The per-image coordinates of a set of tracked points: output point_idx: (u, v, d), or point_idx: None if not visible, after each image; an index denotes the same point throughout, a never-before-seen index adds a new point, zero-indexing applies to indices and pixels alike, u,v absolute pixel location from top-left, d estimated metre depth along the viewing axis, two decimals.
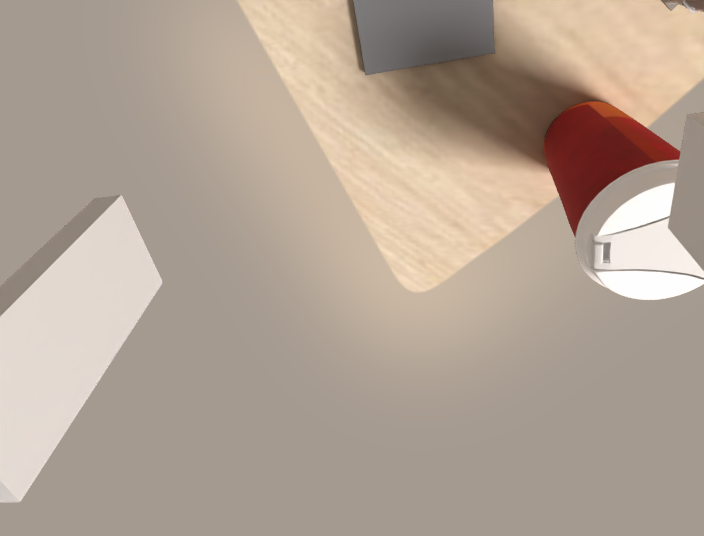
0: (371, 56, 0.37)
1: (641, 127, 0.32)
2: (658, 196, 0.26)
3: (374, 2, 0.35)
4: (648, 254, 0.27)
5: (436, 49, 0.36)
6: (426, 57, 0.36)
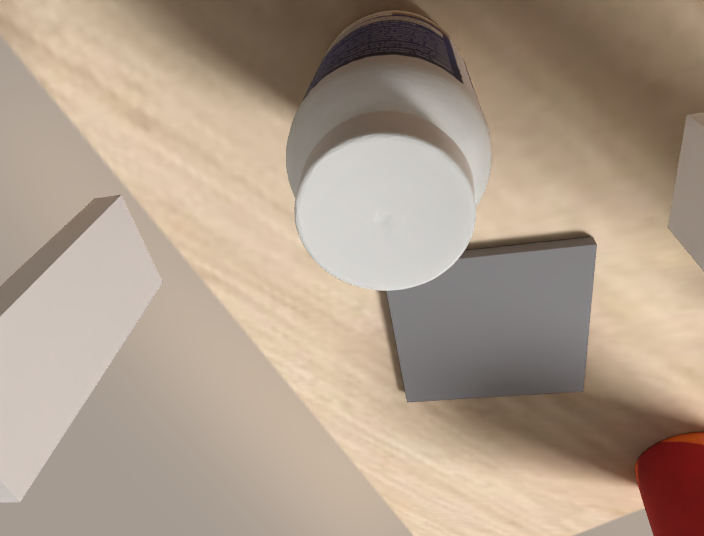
0: (416, 386, 0.27)
1: None
2: None
3: (423, 338, 0.25)
4: None
5: (505, 384, 0.27)
6: (490, 390, 0.27)
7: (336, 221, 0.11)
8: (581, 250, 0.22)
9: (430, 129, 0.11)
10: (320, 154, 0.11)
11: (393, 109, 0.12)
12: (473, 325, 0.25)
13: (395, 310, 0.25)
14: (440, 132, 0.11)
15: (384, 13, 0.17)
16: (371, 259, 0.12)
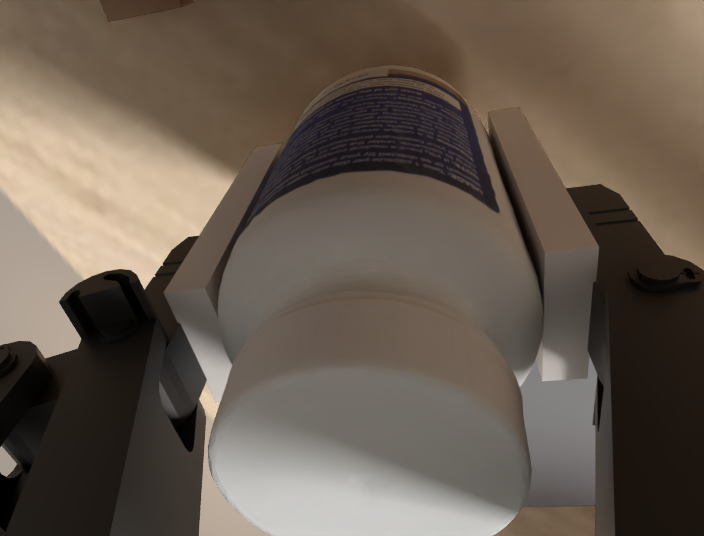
0: None
1: None
2: None
3: None
4: None
5: None
6: None
7: (282, 480, 0.07)
8: None
9: (449, 335, 0.06)
10: (245, 388, 0.06)
11: (384, 273, 0.07)
12: None
13: None
14: (467, 334, 0.06)
15: (377, 72, 0.12)
16: (345, 527, 0.07)
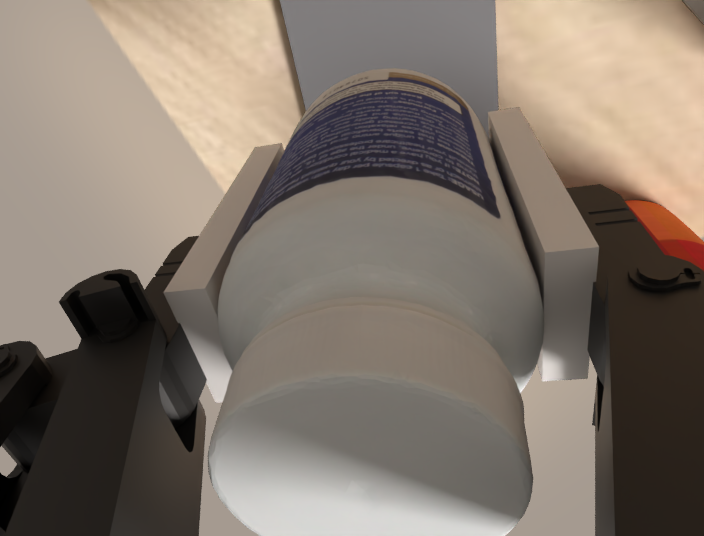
0: None
1: None
2: None
3: (325, 70, 0.24)
4: None
5: None
6: None
7: (282, 487, 0.06)
8: None
9: (450, 343, 0.06)
10: (245, 396, 0.06)
11: (384, 279, 0.07)
12: (375, 48, 0.23)
13: (292, 30, 0.23)
14: (468, 341, 0.06)
15: (377, 75, 0.12)
16: (344, 535, 0.07)
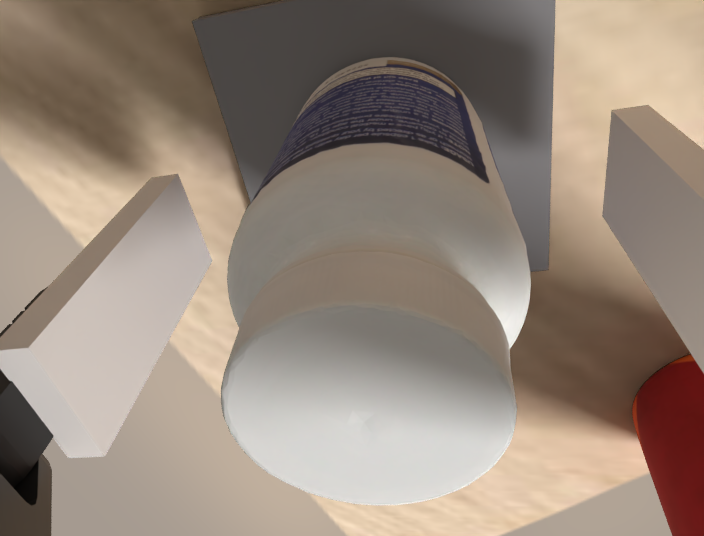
0: None
1: None
2: None
3: None
4: None
5: None
6: None
7: (289, 420, 0.07)
8: None
9: (441, 283, 0.07)
10: (256, 329, 0.06)
11: (382, 233, 0.08)
12: None
13: (231, 116, 0.15)
14: (457, 283, 0.07)
15: (376, 62, 0.13)
16: (345, 470, 0.08)
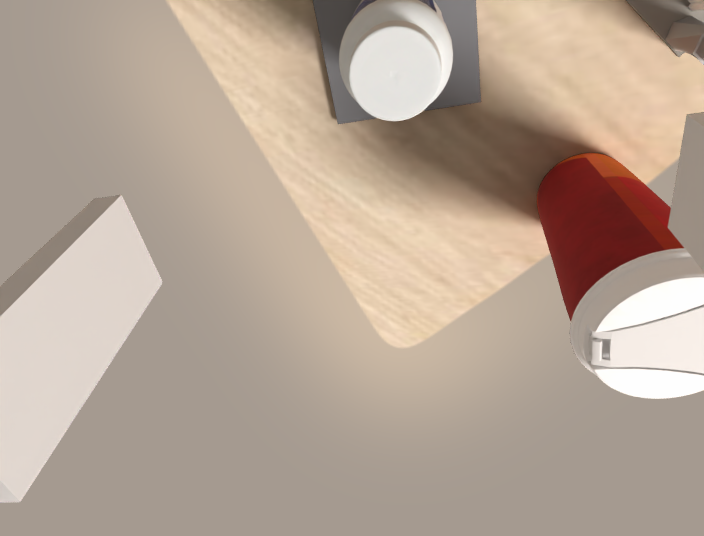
0: (344, 104, 0.33)
1: (645, 192, 0.28)
2: (666, 292, 0.22)
3: None
4: (654, 352, 0.24)
5: None
6: None
7: (370, 77, 0.22)
8: None
9: (417, 27, 0.22)
10: (363, 39, 0.22)
11: None
12: None
13: (320, 14, 0.30)
14: (423, 30, 0.22)
15: None
16: (387, 100, 0.23)
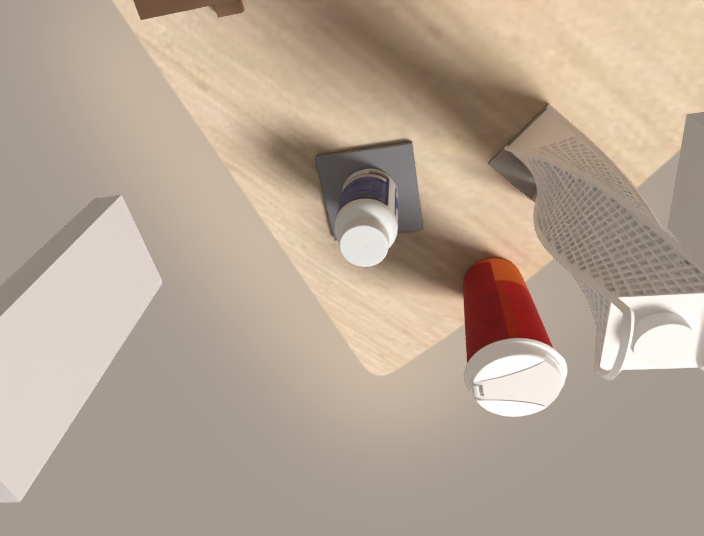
0: None
1: (515, 293, 0.48)
2: (506, 362, 0.41)
3: (338, 199, 0.51)
4: (506, 391, 0.43)
5: None
6: None
7: (351, 247, 0.42)
8: (406, 147, 0.47)
9: (375, 223, 0.42)
10: (346, 230, 0.41)
11: (366, 215, 0.43)
12: None
13: (323, 182, 0.50)
14: (378, 223, 0.42)
15: (366, 171, 0.48)
16: (360, 257, 0.43)
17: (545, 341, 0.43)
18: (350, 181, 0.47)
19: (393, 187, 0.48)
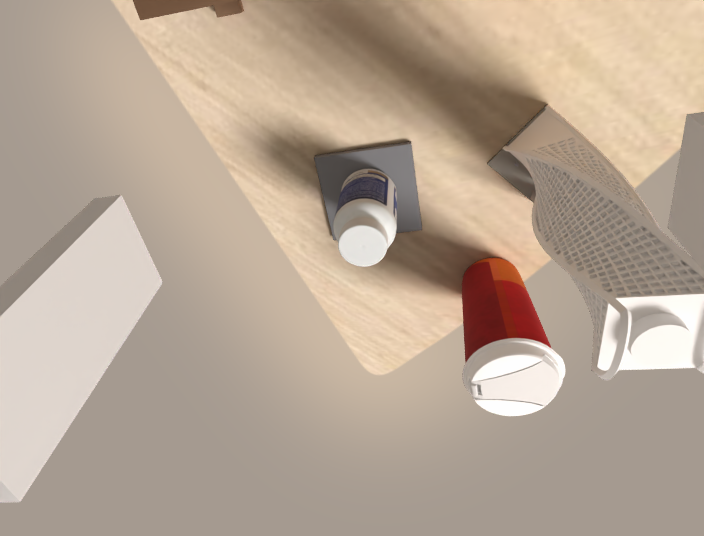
0: None
1: (514, 293, 0.48)
2: (504, 362, 0.42)
3: (337, 199, 0.51)
4: (504, 391, 0.43)
5: None
6: None
7: (349, 246, 0.42)
8: (405, 147, 0.47)
9: (374, 222, 0.42)
10: (345, 229, 0.41)
11: (365, 215, 0.43)
12: None
13: (322, 182, 0.50)
14: (377, 223, 0.42)
15: (365, 171, 0.48)
16: (359, 257, 0.43)
17: (543, 341, 0.43)
18: (349, 181, 0.47)
19: (392, 187, 0.48)
